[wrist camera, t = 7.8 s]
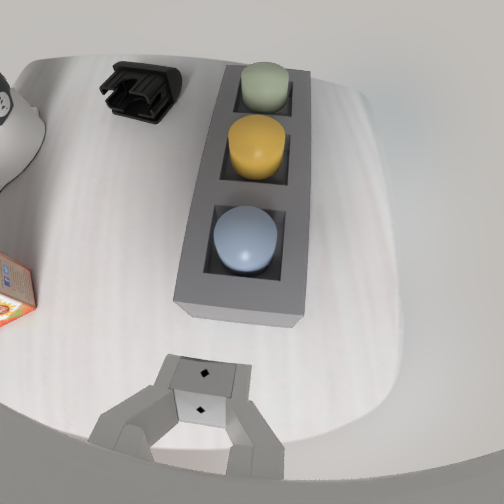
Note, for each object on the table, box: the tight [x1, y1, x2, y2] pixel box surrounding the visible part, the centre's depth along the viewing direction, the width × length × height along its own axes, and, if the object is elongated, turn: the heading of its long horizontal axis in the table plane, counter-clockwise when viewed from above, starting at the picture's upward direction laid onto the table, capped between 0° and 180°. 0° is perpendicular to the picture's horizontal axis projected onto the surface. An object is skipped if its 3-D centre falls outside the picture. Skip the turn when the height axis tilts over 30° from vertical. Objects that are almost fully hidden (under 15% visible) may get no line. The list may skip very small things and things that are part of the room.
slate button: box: [214, 206, 277, 277], centre depth 26 cm, size 5×5×4 cm
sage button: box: [241, 62, 289, 114], centre depth 30 cm, size 5×5×4 cm
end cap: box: [100, 61, 182, 124], centre depth 39 cm, size 10×7×7 cm
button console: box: [173, 65, 311, 328], centre depth 32 cm, size 10×28×8 cm, turn 174°
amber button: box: [228, 115, 285, 180], centre depth 27 cm, size 5×5×4 cm
